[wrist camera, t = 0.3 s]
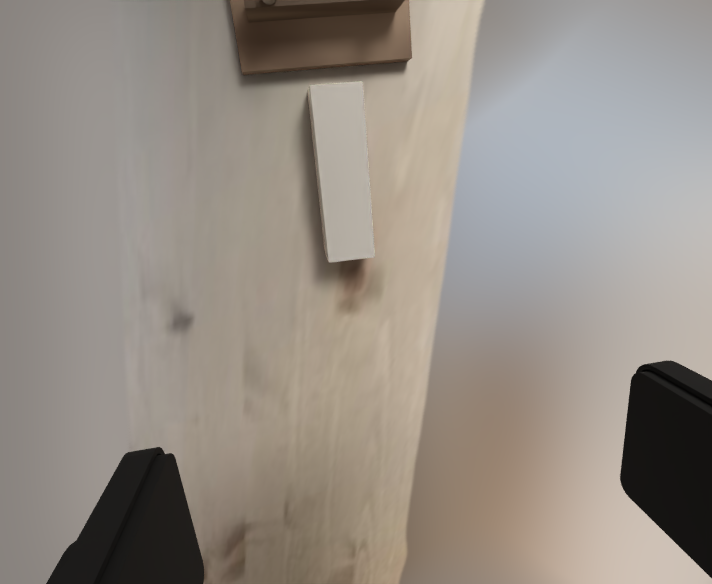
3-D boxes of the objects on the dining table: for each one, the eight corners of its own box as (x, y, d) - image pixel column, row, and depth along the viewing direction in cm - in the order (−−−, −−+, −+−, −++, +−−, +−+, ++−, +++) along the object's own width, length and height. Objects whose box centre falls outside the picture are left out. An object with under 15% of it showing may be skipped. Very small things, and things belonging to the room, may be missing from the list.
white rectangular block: (307, 92, 32) (309, 84, 28) (353, 89, 32) (362, 81, 28) (324, 250, 36) (328, 262, 32) (365, 246, 36) (375, 257, 32)
